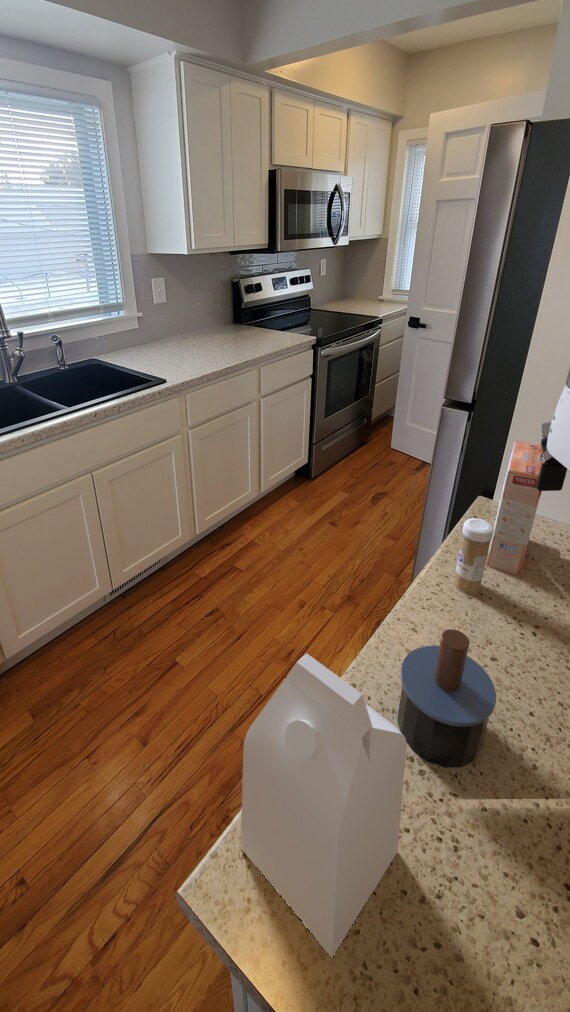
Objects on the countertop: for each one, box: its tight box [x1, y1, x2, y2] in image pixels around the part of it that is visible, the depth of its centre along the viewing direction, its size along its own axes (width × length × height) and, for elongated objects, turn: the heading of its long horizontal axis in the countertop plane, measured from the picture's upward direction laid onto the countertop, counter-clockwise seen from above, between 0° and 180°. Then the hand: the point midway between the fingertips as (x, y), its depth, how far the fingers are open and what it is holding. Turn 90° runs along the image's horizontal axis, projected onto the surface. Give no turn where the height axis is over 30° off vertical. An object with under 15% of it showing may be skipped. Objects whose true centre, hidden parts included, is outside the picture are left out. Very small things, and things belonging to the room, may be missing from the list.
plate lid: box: [399, 628, 497, 727], centre depth 58 cm, size 11×11×8 cm
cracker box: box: [485, 440, 545, 576], centre depth 90 cm, size 14×6×21 cm, turn 148°
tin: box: [396, 685, 490, 769], centre depth 61 cm, size 10×10×8 cm
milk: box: [239, 652, 407, 958], centre depth 46 cm, size 12×12×26 cm
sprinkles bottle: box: [452, 517, 494, 595], centre depth 83 cm, size 5×5×14 cm
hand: (569, 509), depth 62 cm, fingers open, 9 cm apart
